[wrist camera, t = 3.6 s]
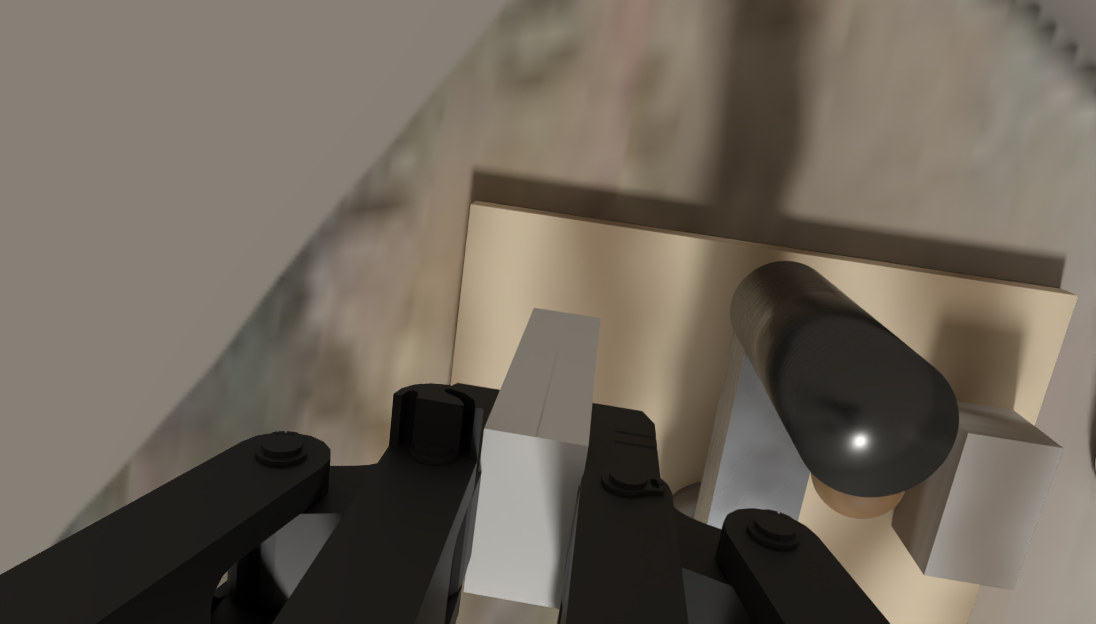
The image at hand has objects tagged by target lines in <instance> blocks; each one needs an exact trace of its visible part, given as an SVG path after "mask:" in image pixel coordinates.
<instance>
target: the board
mask: <svg viewBox="0 0 1096 624" xmlns="http://www.w3.org/2000/svg"><path fill="white" fill-rule="evenodd" d="M777 261H794V262H799V263H802V264H805V265H807V266H809V267H811V268H813V269H814V270H816V271H817V272H819V273H820V274H821V275H822V276H824V277H825V278H826V279H827V280H828V281H830V282H831V283H832V284H833V285H835V286H836V287H837V288H838V289H839V290H841V291H842V292H843V293H844V294H846V295H847V296H848V297H849V298H850V299H852V300H853V301H854V302H855V303H857V304H858V305H859V306H860V307H861V308H863V309H864V310H865V311H866V312H868V313H869V314H870V315H871V316H872V317H874V318H875V319H876V320H877V321H879V322H880V323H881V324H882V325H883V326H885V327H886V328H887V329H888V330H890V331H891V332H892V333H893V334H894V335H896V336H897V337H898V338H899V339H901V340H902V341H903V342H904V343H905V344H907V345H908V346H909V347H910V348H912V349H913V350H914V351H915V352H916V353H918V354H919V355H920V356H921V357H923V358H924V359H925V360H926V361H927V362H929V363H930V364H931V365H932V366H934V367H935V368H936V369H937V370H938V371H939V372H940V373H941V374H942V375H943V376H944V378H945V379H946V380H947V381H948V383H949V384H950V386H951V388H952V390H953V392H954V395H955V397H956V400H957V404H958V409H959V427H958V433H957V437H956V440H955V443H954V445H953V448H952V450H951V451H950V453H949V455H948V457H947V458H946V460H945V461H944V462H943V464H942V465H941V466H940V467H939V468H938V469H937V470H936V471H935V472H934V473H933V474H932V475H931V476H930V477H928V478H927V479H926V480H924V481H923V482H921V483H920V484H918V485H917V486H915V487H913V488H911V489H909V490H906V491H905V493H904V496H903V497H902V499H901V500H900V502H899V503H898V504H897V505H896V506H895V507H894V508H893V509H892V510H890V511H889V512H887V513H886V514H884V515H881V516H878V517H875V518H870V519H855V518H851V517H847V516H844V515H842V514H840V513H838V512H836V511H834V510H833V509H831V508H830V507H829V506H828V505H827V504H825V503H824V502H823V500H822V499H821V498H820V497H819V495H818V494H817V492H816V490H815V488H814V485H813V483H812V479H811V472H810V476H809V480H808V483H807V487H806V491H805V495H804V499H803V503H802V507H801V511H800V515H799V519H798V522H800V523H802V524H804V525H805V526H807V527H808V528H809V529H810V530H811V531H812V532H814V533H815V534H816V535H817V536H818V537H819V538H820V539H821V541H822V542H823V543H824V544H825V545H826V547H827V548H828V549H829V550H830V551H831V553H832V554H833V555H834V556H835V557H836V559H837V560H838V561H839V562H840V563H841V565H842V566H843V567H844V568H845V569H846V571H847V572H848V573H849V574H850V575H851V577H852V578H853V579H854V580H855V582H856V583H857V584H858V585H859V586H860V588H861V589H862V590H863V591H864V592H865V594H866V595H867V596H868V597H869V598H870V600H871V601H872V602H873V603H874V604H875V606H876V607H877V608H878V609H879V610H880V612H881V613H882V614H883V615H884V616H885V618H886V619H887V620H888V621H889V622H890V624H968V621H969V618H970V615H971V612H972V609H973V606H974V604H975V601H976V598H977V595H978V592H979V589H980V586H981V585H985V586H991V587H997V588H1003V589H1009V590H1014V587H1015V585H1016V582H1017V579H1018V576H1019V573H1020V570H1021V568H1022V565H1023V562H1024V559H1025V556H1026V553H1027V550H1028V548H1029V545H1030V542H1031V539H1032V536H1033V533H1034V531H1035V528H1036V525H1037V522H1038V519H1039V516H1040V513H1041V511H1042V508H1043V505H1044V502H1045V499H1046V496H1047V493H1048V491H1049V488H1050V485H1051V482H1052V479H1053V476H1054V474H1055V471H1056V468H1057V465H1058V462H1059V459H1060V456H1061V454H1062V451H1063V448H1062V447H1061V446H1060V445H1059V444H1057V443H1056V442H1055V441H1053V440H1052V439H1051V438H1049V437H1048V436H1047V435H1045V434H1044V433H1043V432H1042V431H1040V430H1039V429H1038V428H1036V427H1035V423H1036V420H1037V417H1038V414H1039V411H1040V408H1041V405H1042V402H1043V399H1044V396H1045V393H1046V390H1047V387H1048V384H1049V381H1050V378H1051V375H1052V372H1053V369H1054V366H1055V363H1056V360H1057V357H1058V354H1059V351H1060V348H1061V345H1062V342H1063V340H1064V337H1065V334H1066V331H1067V328H1068V325H1069V322H1070V319H1071V316H1072V313H1073V310H1074V307H1075V304H1076V301H1077V298H1078V296H1077V295H1075V294H1073V293H1070V292H1068V291H1065V290H1063V289H1059V288H1053V287H1046V286H1040V285H1033V284H1026V283H1020V282H1013V281H1006V280H1000V279H993V278H986V277H980V276H973V275H967V274H960V273H953V272H947V271H940V270H933V269H927V268H920V267H913V266H907V265H900V264H894V263H887V262H880V261H874V260H867V259H860V258H854V257H847V256H840V255H834V254H827V253H821V252H814V251H807V250H801V249H794V248H787V247H781V246H774V245H768V244H761V243H754V242H748V241H741V240H734V239H728V238H721V237H714V236H708V235H701V234H695V233H688V232H681V231H675V230H668V229H661V228H655V227H648V226H641V225H635V224H628V223H622V222H615V221H608V220H602V219H595V218H588V217H582V216H575V215H568V214H562V213H555V212H549V211H542V210H535V209H529V208H522V207H515V206H509V205H502V204H495V203H489V202H482V201H474V202H473V203H472V204H471V206H470V215H469V224H468V233H467V241H466V250H465V259H464V268H463V277H462V286H461V295H460V304H459V313H458V322H457V331H456V340H455V349H454V358H453V367H452V376H451V386H452V385H454V384H456V383H462V384H468V385H474V386H480V387H486V388H493V389H499V390H500V389H501V386H502V384H503V382H504V379H505V377H506V374H507V372H508V369H509V367H510V365H511V362H512V360H513V357H514V355H515V352H516V350H517V348H518V345H519V343H520V340H521V338H522V335H523V333H524V331H525V328H526V326H527V323H528V321H529V318H530V316H531V314H532V311H533V309H534V308H539V309H546V310H552V311H558V312H564V313H571V314H577V315H583V316H590V317H596V318H600V325H599V336H598V347H597V358H596V369H595V380H594V391H593V402H592V403H597V404H603V405H609V406H615V407H621V408H627V409H633V410H639V411H643V412H644V413H645V414H646V415H647V416H648V417H649V418H650V420H651V421H652V422H653V423H654V424H655V431H656V440H657V450H658V459H659V469H660V478H661V479H662V480H664V481H665V482H666V483H667V484H668V486H669V488H670V490H671V492H672V496H673V504H674V507H675V508H676V509H677V510H678V511H680V512H682V513H683V514H685V515H687V516H689V517H690V518H693V519H694V515H695V510H696V505H697V501H698V496H699V491H700V487H701V482H702V477H703V473H704V468H705V463H706V459H707V454H708V449H709V445H710V440H711V435H712V431H713V426H714V421H715V417H716V412H717V407H718V403H719V398H720V393H721V389H722V384H723V379H724V375H725V370H726V365H727V361H728V356H729V351H730V347H731V342H732V337H733V333H734V330H733V328H732V324H731V319H730V307H731V301H732V298H733V295H734V293H735V291H736V289H737V287H738V286H739V284H740V283H741V282H742V280H743V279H744V278H745V277H746V276H747V275H748V274H750V273H751V272H752V271H754V270H755V269H757V268H759V267H761V266H763V265H765V264H768V263H772V262H777Z"/></svg>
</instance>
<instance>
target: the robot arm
mask: <svg viewBox="0 0 1096 624" xmlns="http://www.w3.org/2000/svg"><path fill="white" fill-rule="evenodd" d="M599 325H600V318H596V317H590V316H583V315H577V314H571V313H564V312H558V311H552V310H546V309H539V308H534V309H533V311H532V314H531V316H530V318H529V321H528V323H527V326H526V328H525V331H524V333H523V335H522V338H521V340H520V343H519V345H518V348H517V350H516V352H515V355H514V357H513V360H512V362H511V365H510V367H509V369H508V372H507V374H506V377H505V379H504V382H503V384H502V386H501V389H500V390H499V389H493V388H486V387H480V386H474V385H468V384H462V383H456V384H454V385H452V386H451V385H443V384H432V383H430V384H416V385H412V386H408V387H404V388H401V389H400V390H399V391H397V392H396V393H394V395H393V407H392V418H391V429H390V441H389V447H388V448H387V450H386V451H385V453H384V454H383V456H382V457H381V459H380V460H379V462H378V463H376V464H371V465H361V466H330V449H329V447H328V446H327V445H326V444H325V443H324V442H323V441H321V440H318V439H316V438H314V437H312V436H308V435H303V434H299V433H297V432H289V431H287V433H285V431H279V432H273V433H270V434H264V435H258V436H255V437H252V438H250V439H247V440H245V441H242V442H240V443H239V444H237V445H235V446H233V447H231V448H229V449H228V450H226V451H224V452H222V453H220V454H219V455H217V456H215V457H213V458H211V459H209V460H208V461H206V462H204V463H202V464H200V465H199V466H197V467H195V468H193V469H191V470H190V471H188V472H186V473H184V474H182V475H180V476H179V477H177V478H175V479H173V480H171V481H170V482H168V483H166V484H164V485H162V486H160V487H159V488H157V489H155V490H153V491H151V492H150V493H148V494H146V495H144V496H142V497H141V498H139V499H137V500H135V501H133V502H131V503H130V504H128V505H126V506H124V507H122V508H121V509H119V510H117V511H115V512H113V513H111V514H110V515H108V516H106V517H104V518H102V519H101V520H99V521H97V522H95V523H93V524H92V525H90V526H88V527H86V528H84V529H82V530H81V531H79V532H77V533H75V534H73V535H72V536H70V537H68V538H66V539H64V540H62V541H61V542H59V543H57V544H55V545H53V546H52V547H50V548H48V549H46V550H44V551H43V552H41V553H39V554H37V555H36V556H33V557H32V558H30V559H28V560H27V561H24V562H23V563H21V564H19V565H17V566H15V567H14V568H12V569H10V570H8V571H6V572H4V573H3V574H1V575H0V624H455V623H456V619H457V616H458V613H459V605H460V597H461V589H462V583H463V580H464V576H465V573H466V578H465V585H464V592H467V593H473V594H478V595H484V596H490V597H495V598H501V599H507V600H512V601H518V602H523V603H529V604H535V605H540V606H546V607H552V608H557V609H559V615H558V621H557V624H890V622H889V621H888V620H887V619H886V618H885V616H884V615H883V614H882V613H881V612H880V610H879V609H878V608H877V607H876V606H875V604H874V603H873V602H872V601H871V600H870V598H869V597H868V596H867V595H866V594H865V592H864V591H863V590H862V589H861V588H860V586H859V585H858V584H857V583H856V582H855V580H854V579H853V578H852V577H851V575H850V574H849V573H848V572H847V571H846V569H845V568H844V567H843V566H842V565H841V563H840V562H839V561H838V560H837V559H836V557H835V556H834V555H833V554H832V553H831V551H830V550H829V549H828V548H827V547H826V545H825V544H824V543H823V542H822V541H821V539H820V538H819V537H818V536H817V535H816V534H815V533H814V532H812V531H811V530H810V529H809V528H808V527H807V526H805V525H804V524H802V523H800V522H798V521H796V520H794V519H793V518H792V517H790V516H789V515H786V514H784V513H781V512H780V513H778V511H774V510H770V509H765V510H763V509H756V508H747V509H737V510H735V511H733V512H731V513H729V514H727V516H726V518H725V520H724V522H723V526H722V529H719V528H716V527H714V526H711V525H708V524H705V523H702V522H700V521H698V520H695V519H693V518H690V517H689V516H687V515H685V514H683V513H682V512H680V511H678V510H677V509H676V508H675V507H674V504H673V496H672V492H671V490H670V488H669V486H668V484H667V483H666V482H665V481H664V480H662V479H661V478H660V469H659V459H658V450H657V440H656V431H655V424H654V423H653V422H652V421H651V420H650V418H649V417H648V416H647V415H646V414H645V413H644V412H643V411H639V410H633V409H627V408H621V407H615V406H609V405H603V404H597V403H592V402H593V391H594V380H595V369H596V358H597V347H598V336H599ZM227 571H228V579H227V581H226V582H225V583H223V584H222V585H221V586H219V587H218V588H217V586H218V584H219V582H220V580H221V578H222V576H223V575H224V574H225V573H226V572H227ZM216 588H217V589H216Z"/></svg>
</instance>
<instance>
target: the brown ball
mask: <svg viewBox="0 0 1096 624" xmlns="http://www.w3.org/2000/svg"><path fill="white" fill-rule="evenodd" d="M811 479H812V483H813V485H814V488H815V490H816V492H817V494H818V495H819V497H820V498H821V499H822V500H823V502H824V503H825V504H827V505H828V506H829V507H830V508H831V509H833V510H834V511H836V512H838V513H840V514H842V515H844V516H847V517H851V518H855V519H870V518H875V517H878V516H881V515H884V514H886V513H887V512H889V511H890V510H892V509H893V508H894V507H895V506H896V505H897V504H898V503H899V502H900V500H901V499H902V497H903V496H904V493H905V491H903V492H901V493H898V494H894V495H890V496H883V497H858V496H853V495H848V494H845V493H842V492H839V491H836V490H834V489H832V488H830V487H828V486H827V485H825V484H824V483H822V482H821V481H820V480H819V479H817V478H816V477H815V476H814V475H813V474H812V473H811Z"/></svg>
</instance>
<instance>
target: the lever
mask: <svg viewBox="0 0 1096 624" xmlns="http://www.w3.org/2000/svg"><path fill="white" fill-rule="evenodd" d="M730 319H731V324H732V328H733V330H734V333H733V337H732V342H731V347H730V351H729V356H728V361H727V365H726V370H725V375H724V379H723V384H722V389H721V393H720V398H719V403H718V407H717V412H716V417H715V421H714V426H713V431H712V435H711V440H710V445H709V449H708V454H707V459H706V463H705V468H704V473H703V477H702V482H701V487H700V491H699V496H698V501H697V505H696V510H695V515H694V519H695V520H698V521H700V522H702V523H705V524H708V525H711V526H714V527H716V528H719V529H722V526H723V522H724V520H725V518H726V516H727V514H729V513H731V512H733V511H735V510H737V509H747V508H756V509H763V510H765V509H770V510H774V511H778V513H780V512H781V513H784V514H786V515H789V516H790V517H792V518H793V519H794V520H796V521H798V519H799V515H800V511H801V507H802V503H803V499H804V495H805V491H806V487H807V483H808V480H809V476H810V472H811V473H812V474H813V475H814V476H815V477H816V478H817V479H819V480H820V481H821V482H822V483H824V484H825V485H827V486H828V487H830V488H832V489H834V490H836V491H839V492H842V493H845V494H848V495H853V496H858V497H883V496H890V495H894V494H898V493H901V492H903V491H906V490H909V489H911V488H913V487H915V486H917V485H918V484H920V483H921V482H923V481H924V480H926V479H927V478H928V477H930V476H931V475H932V474H933V473H934V472H935V471H936V470H937V469H938V468H939V467H940V466H941V465H942V464H943V462H944V461H945V460H946V458H947V457H948V455H949V453H950V451H951V450H952V448H953V445H954V443H955V440H956V437H957V433H958V427H959V409H958V404H957V400H956V397H955V395H954V392H953V390H952V388H951V386H950V384H949V383H948V381H947V380H946V379H945V378H944V376H943V375H942V374H941V373H940V372H939V371H938V370H937V369H936V368H935V367H934V366H932V365H931V364H930V363H929V362H927V361H926V360H925V359H924V358H923V357H921V356H920V355H919V354H918V353H916V352H915V351H914V350H913V349H912V348H910V347H909V346H908V345H907V344H905V343H904V342H903V341H902V340H901V339H899V338H898V337H897V336H896V335H894V334H893V333H892V332H891V331H890V330H888V329H887V328H886V327H885V326H883V325H882V324H881V323H880V322H879V321H877V320H876V319H875V318H874V317H872V316H871V315H870V314H869V313H868V312H866V311H865V310H864V309H863V308H861V307H860V306H859V305H858V304H857V303H855V302H854V301H853V300H852V299H850V298H849V297H848V296H847V295H846V294H844V293H843V292H842V291H841V290H839V289H838V288H837V287H836V286H835V285H833V284H832V283H831V282H830V281H828V280H827V279H826V278H825V277H824V276H822V275H821V274H820V273H819V272H817V271H816V270H814V269H813V268H811V267H809V266H807V265H805V264H802V263H799V262H794V261H777V262H772V263H768V264H765V265H763V266H761V267H759V268H757V269H755V270H754V271H752V272H751V273H750V274H748V275H747V276H746V277H745V278H744V279H743V280H742V282H741V283H740V284H739V286H738V287H737V289H736V291H735V293H734V295H733V298H732V301H731V307H730Z"/></svg>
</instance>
